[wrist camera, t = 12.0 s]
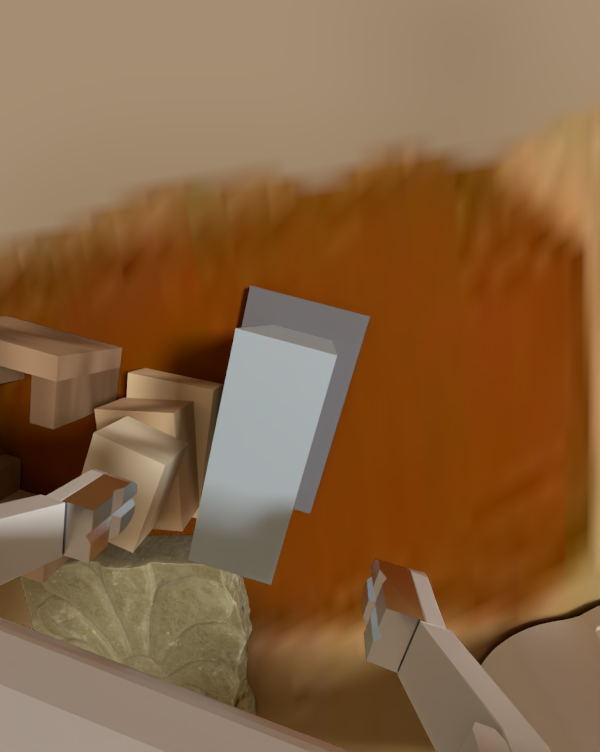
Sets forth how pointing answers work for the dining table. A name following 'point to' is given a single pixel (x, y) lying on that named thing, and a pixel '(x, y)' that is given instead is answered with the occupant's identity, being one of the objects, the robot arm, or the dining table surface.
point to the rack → (53, 390)
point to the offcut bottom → (186, 389)
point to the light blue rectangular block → (260, 448)
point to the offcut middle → (177, 423)
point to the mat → (347, 342)
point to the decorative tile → (153, 615)
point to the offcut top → (138, 470)
